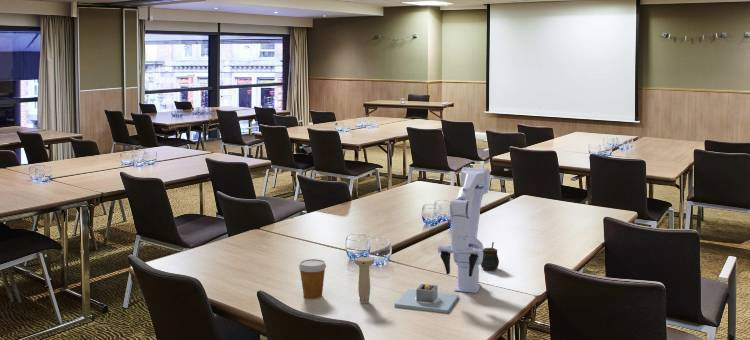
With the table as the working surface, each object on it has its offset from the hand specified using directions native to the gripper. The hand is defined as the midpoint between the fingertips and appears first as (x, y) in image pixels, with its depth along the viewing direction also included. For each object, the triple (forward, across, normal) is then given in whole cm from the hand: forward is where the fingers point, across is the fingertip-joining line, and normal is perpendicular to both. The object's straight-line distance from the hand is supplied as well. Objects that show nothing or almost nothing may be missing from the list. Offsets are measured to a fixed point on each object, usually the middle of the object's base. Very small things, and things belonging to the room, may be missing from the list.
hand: (459, 274), depth 235 cm
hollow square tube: (+8, -10, -4) cm, 14 cm away
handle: (+10, -30, -11) cm, 33 cm away
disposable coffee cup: (+10, -49, -11) cm, 51 cm away
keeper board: (+9, -10, -4) cm, 14 cm away
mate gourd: (+10, +3, +41) cm, 42 cm away
